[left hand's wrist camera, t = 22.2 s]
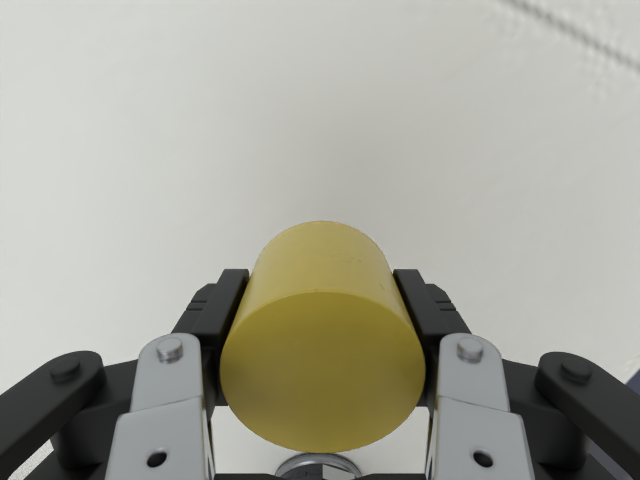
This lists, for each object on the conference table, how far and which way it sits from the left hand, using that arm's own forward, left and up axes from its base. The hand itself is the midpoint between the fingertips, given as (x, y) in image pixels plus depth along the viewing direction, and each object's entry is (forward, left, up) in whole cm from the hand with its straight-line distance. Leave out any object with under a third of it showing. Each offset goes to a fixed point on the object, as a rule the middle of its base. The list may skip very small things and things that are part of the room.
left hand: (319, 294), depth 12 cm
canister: (0, 0, -1) cm, 1 cm away
